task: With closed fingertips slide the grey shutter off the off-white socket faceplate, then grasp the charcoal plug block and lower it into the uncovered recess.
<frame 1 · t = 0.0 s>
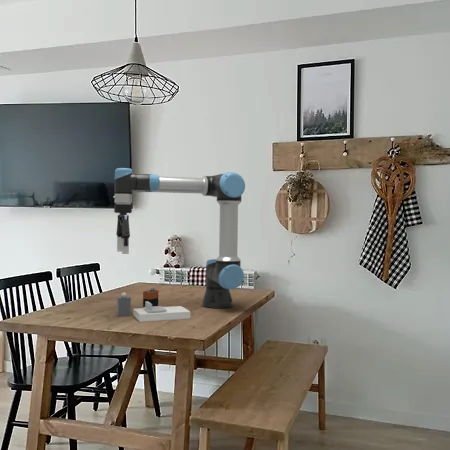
hand: (122, 252, 225), 28 cm above the table, fingers open, 13 cm apart
plug: (123, 315, 229), on the table
faceplate: (161, 316, 226), on the table
battery: (150, 310, 242), on the table
shutter: (154, 306, 225), point 5 cm above the table, slide at 0.0 cm
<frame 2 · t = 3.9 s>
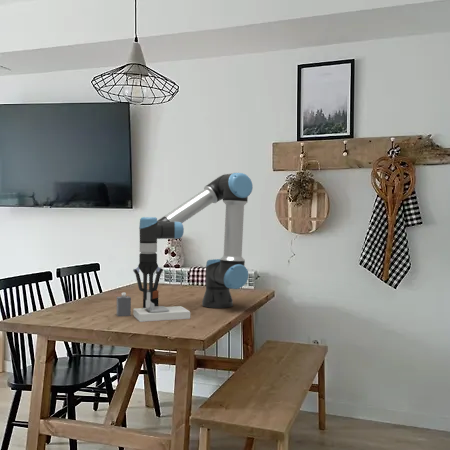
hand: (147, 307, 224), 5 cm above the table, fingers closed
shutter: (157, 306, 225), point 5 cm above the table, slide at 1.1 cm, touching gripper
everything else where it was.
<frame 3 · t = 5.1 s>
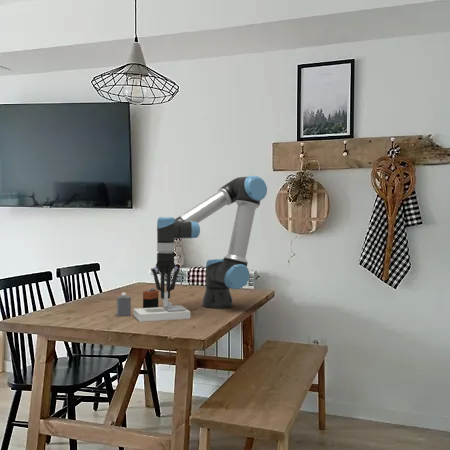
hand: (165, 305, 227), 5 cm above the table, fingers closed
shutter: (174, 305, 228), point 5 cm above the table, slide at 8.8 cm, touching gripper
everything else where it was.
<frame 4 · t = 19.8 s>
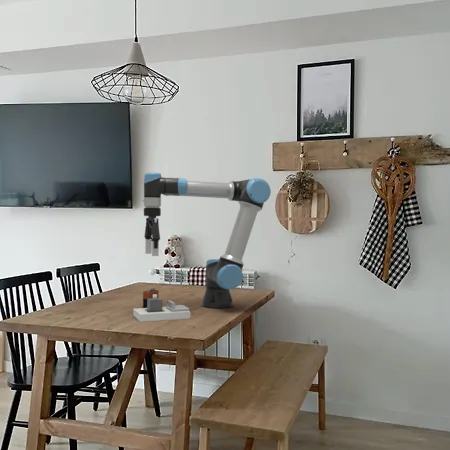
hand: (151, 254, 231), 27 cm above the table, fingers open, 13 cm apart
plug: (154, 317, 225), resting in faceplate
shutter: (177, 304, 229), point 5 cm above the table, slide at 10.1 cm
everything else where it was.
at the end: plug 0.1 cm from the target spot on the faceplate, point 0.0 cm above the faceplate's base; plug tilted 0°; shutter slide at 10.1 cm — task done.
